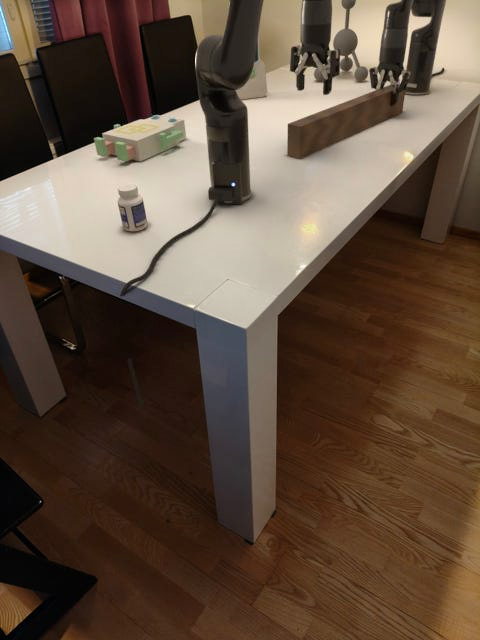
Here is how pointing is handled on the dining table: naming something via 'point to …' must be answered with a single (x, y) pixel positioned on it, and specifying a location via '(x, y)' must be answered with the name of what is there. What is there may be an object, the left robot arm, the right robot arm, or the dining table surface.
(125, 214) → the pill bottle
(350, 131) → the beam
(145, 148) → the decorative block
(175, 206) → the dining table surface
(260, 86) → the electronic device
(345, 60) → the molecular model
